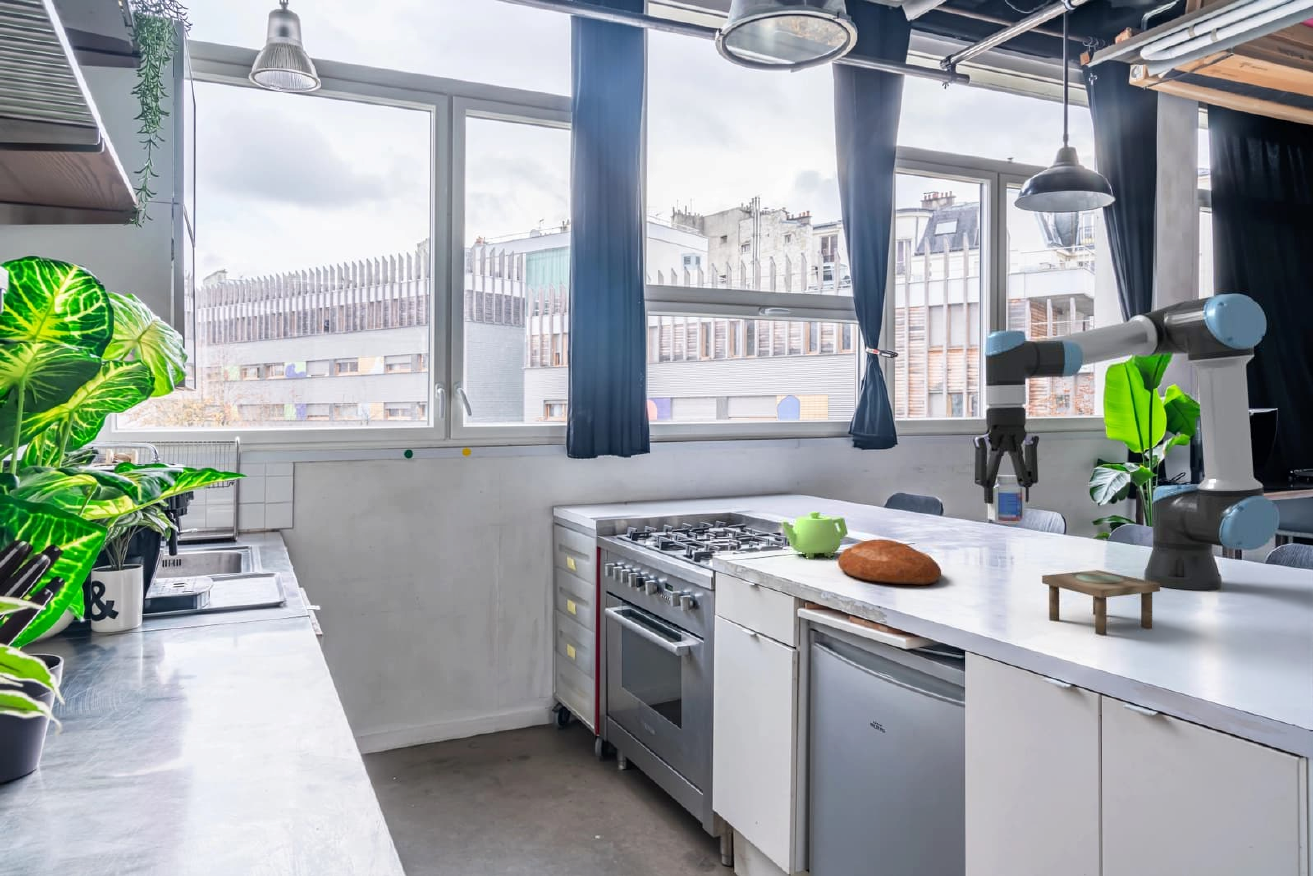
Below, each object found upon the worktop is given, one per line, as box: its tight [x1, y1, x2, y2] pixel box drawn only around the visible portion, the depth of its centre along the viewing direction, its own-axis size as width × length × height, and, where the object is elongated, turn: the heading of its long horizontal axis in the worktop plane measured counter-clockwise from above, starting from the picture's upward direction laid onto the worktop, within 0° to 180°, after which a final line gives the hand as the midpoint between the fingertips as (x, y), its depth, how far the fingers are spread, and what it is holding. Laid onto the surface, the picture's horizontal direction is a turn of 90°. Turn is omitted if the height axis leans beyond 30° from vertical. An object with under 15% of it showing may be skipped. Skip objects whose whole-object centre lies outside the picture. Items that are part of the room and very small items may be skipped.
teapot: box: [781, 511, 849, 559], centre depth 236 cm, size 20×13×13 cm
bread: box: [837, 538, 942, 586], centre depth 206 cm, size 23×32×9 cm
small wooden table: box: [1041, 569, 1161, 636], centre depth 156 cm, size 14×14×9 cm
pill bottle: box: [992, 474, 1022, 525], centre depth 169 cm, size 6×5×10 cm
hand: (1006, 518), depth 169 cm, fingers closed on pill bottle, 5 cm apart
